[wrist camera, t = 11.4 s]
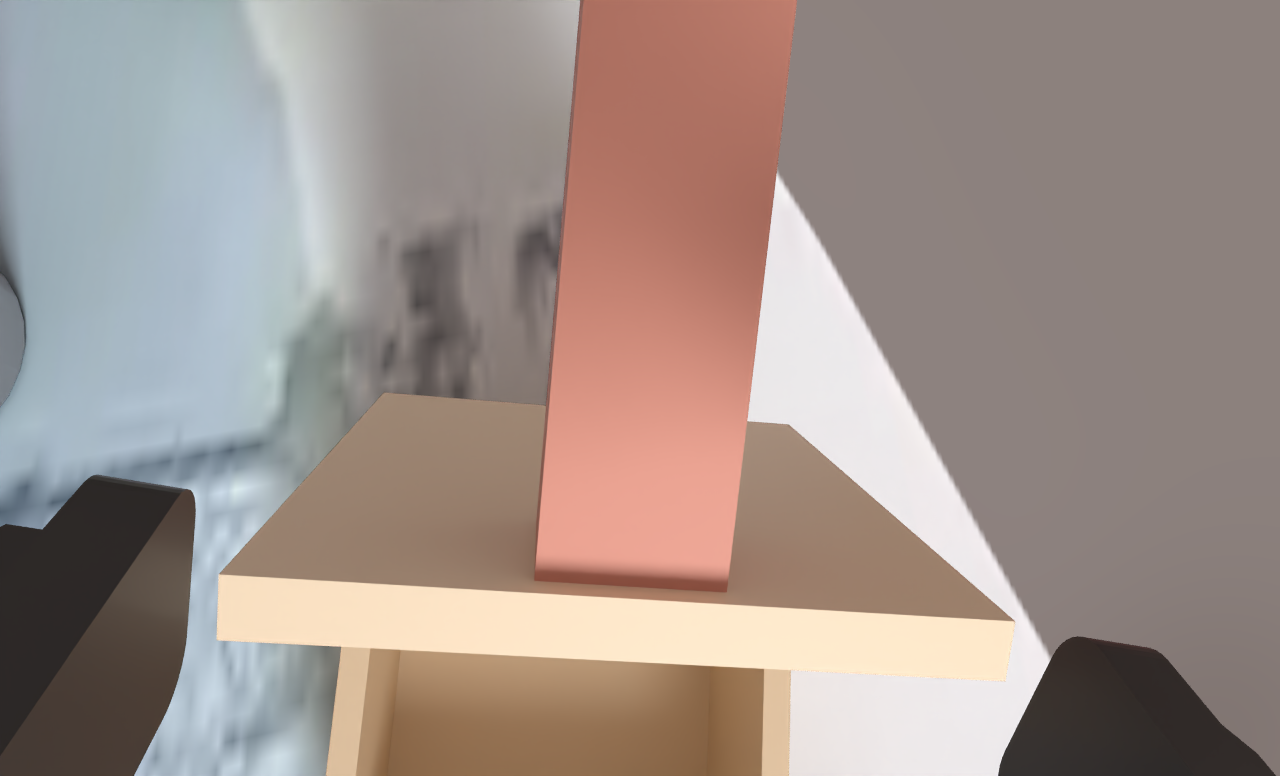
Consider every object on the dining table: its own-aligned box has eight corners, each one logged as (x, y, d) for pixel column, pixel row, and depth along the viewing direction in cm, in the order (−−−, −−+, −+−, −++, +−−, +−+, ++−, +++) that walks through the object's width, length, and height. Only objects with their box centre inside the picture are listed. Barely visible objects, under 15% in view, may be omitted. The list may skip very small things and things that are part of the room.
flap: (1005, 680, 16) (1129, -54, 14) (216, 640, 14) (241, -176, 13) (780, 452, 31) (825, 85, 29) (385, 422, 30) (407, 36, 28)
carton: (718, 922, 36) (784, 1018, 27) (351, 914, 35) (297, 1011, 26) (732, 483, 40) (794, 444, 31) (402, 459, 38) (369, 411, 30)
